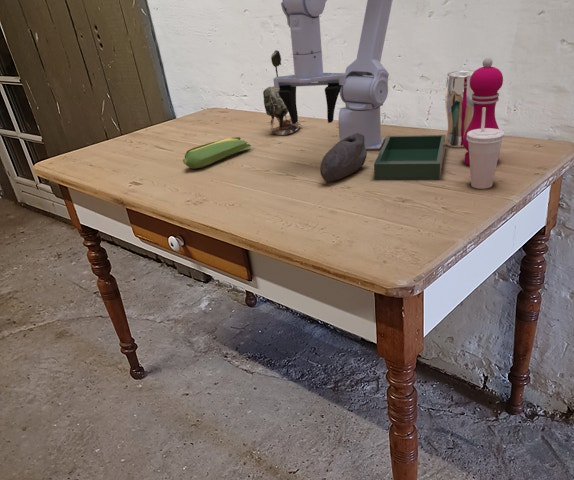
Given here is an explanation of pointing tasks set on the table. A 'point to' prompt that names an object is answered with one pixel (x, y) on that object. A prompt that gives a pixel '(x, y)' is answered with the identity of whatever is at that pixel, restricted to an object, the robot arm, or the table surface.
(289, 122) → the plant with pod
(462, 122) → the beer glass
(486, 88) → the pepper mill
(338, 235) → the table surface
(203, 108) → the table surface
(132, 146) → the table surface
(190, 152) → the edible corn
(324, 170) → the perforated stone tool
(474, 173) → the smoothie
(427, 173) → the dish
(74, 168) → the table surface
